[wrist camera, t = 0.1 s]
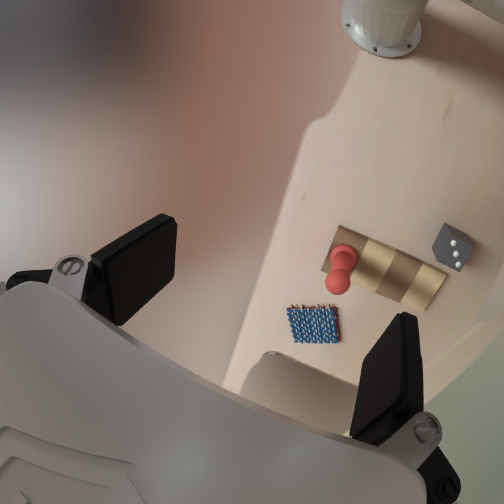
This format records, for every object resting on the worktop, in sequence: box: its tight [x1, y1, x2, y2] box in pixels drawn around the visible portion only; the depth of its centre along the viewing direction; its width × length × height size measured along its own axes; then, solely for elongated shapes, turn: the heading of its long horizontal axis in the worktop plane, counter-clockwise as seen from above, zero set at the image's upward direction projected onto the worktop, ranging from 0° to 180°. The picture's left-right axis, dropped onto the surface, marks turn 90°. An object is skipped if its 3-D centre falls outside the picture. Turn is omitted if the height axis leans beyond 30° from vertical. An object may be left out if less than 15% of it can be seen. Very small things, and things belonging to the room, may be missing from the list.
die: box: [432, 223, 474, 272], centre depth 37 cm, size 5×5×5 cm
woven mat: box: [287, 304, 340, 344], centre depth 57 cm, size 10×11×2 cm
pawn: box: [325, 244, 357, 295], centre depth 43 cm, size 5×5×10 cm
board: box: [321, 225, 447, 312], centre depth 46 cm, size 9×22×1 cm, turn 77°
